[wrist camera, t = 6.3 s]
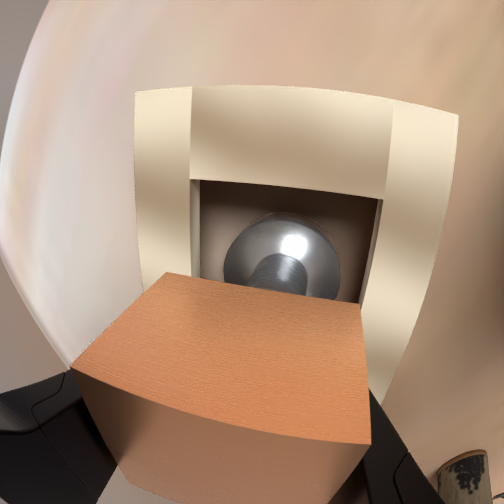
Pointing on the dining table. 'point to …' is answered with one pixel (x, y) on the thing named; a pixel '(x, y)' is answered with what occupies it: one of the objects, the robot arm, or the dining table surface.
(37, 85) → the dining table surface
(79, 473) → the robot arm
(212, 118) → the keyhole box
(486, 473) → the mug
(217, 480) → the wooden block metal peg
